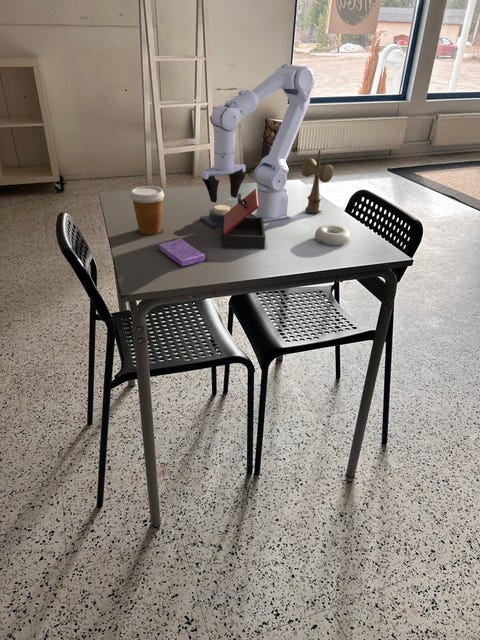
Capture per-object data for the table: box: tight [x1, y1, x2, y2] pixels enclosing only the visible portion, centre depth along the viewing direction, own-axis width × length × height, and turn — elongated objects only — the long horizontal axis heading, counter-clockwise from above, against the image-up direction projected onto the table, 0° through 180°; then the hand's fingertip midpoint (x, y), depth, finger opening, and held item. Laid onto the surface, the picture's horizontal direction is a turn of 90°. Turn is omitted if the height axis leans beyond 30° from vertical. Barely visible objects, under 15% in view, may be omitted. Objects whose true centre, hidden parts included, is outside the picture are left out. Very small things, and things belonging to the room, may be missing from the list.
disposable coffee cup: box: [130, 185, 165, 236], centre depth 143 cm, size 10×10×12 cm
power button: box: [213, 204, 231, 215], centre depth 153 cm, size 5×5×2 cm
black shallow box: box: [223, 216, 266, 250], centre depth 142 cm, size 11×15×4 cm
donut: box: [314, 224, 351, 246], centre depth 143 cm, size 10×4×10 cm
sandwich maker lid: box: [223, 188, 259, 236], centre depth 138 cm, size 12×15×4 cm
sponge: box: [158, 238, 206, 267], centre depth 131 cm, size 7×13×2 cm, turn 35°
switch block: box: [200, 208, 232, 228], centre depth 154 cm, size 11×8×3 cm
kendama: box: [300, 149, 334, 214], centre depth 159 cm, size 6×10×20 cm, turn 35°
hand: (223, 199), depth 147 cm, fingers open, 7 cm apart
